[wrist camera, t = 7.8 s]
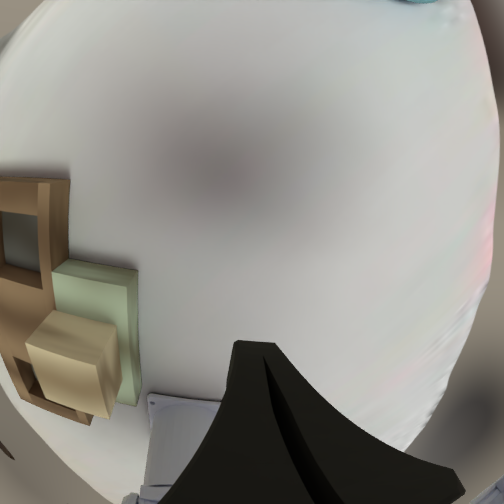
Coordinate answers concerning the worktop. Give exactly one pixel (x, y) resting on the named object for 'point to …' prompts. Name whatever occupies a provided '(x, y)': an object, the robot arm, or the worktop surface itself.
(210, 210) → the worktop surface
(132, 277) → the tray
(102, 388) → the birch block
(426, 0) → the teapot
